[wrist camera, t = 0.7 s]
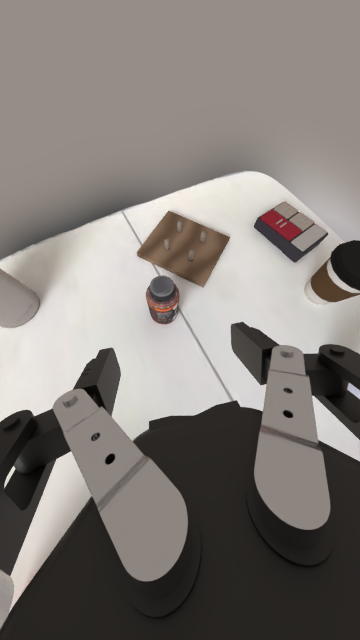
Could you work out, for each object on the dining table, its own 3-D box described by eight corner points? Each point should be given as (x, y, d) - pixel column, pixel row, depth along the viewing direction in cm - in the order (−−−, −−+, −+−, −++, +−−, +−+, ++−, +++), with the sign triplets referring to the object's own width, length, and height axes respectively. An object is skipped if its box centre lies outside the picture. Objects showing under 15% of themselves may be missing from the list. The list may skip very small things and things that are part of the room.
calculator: (285, 198, 50) (331, 231, 46) (277, 213, 54) (319, 244, 50) (258, 215, 47) (305, 251, 43) (251, 229, 51) (294, 263, 47)
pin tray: (137, 255, 45) (134, 245, 41) (168, 214, 50) (168, 201, 47) (203, 287, 43) (206, 278, 39) (228, 240, 48) (233, 229, 45)
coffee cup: (345, 289, 45) (404, 257, 34) (330, 323, 42) (390, 300, 30) (304, 266, 47) (347, 228, 35) (287, 297, 43) (329, 266, 32)
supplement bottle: (182, 317, 40) (187, 292, 29) (158, 330, 39) (154, 309, 28) (169, 295, 42) (169, 265, 31) (145, 307, 40) (137, 279, 30)
